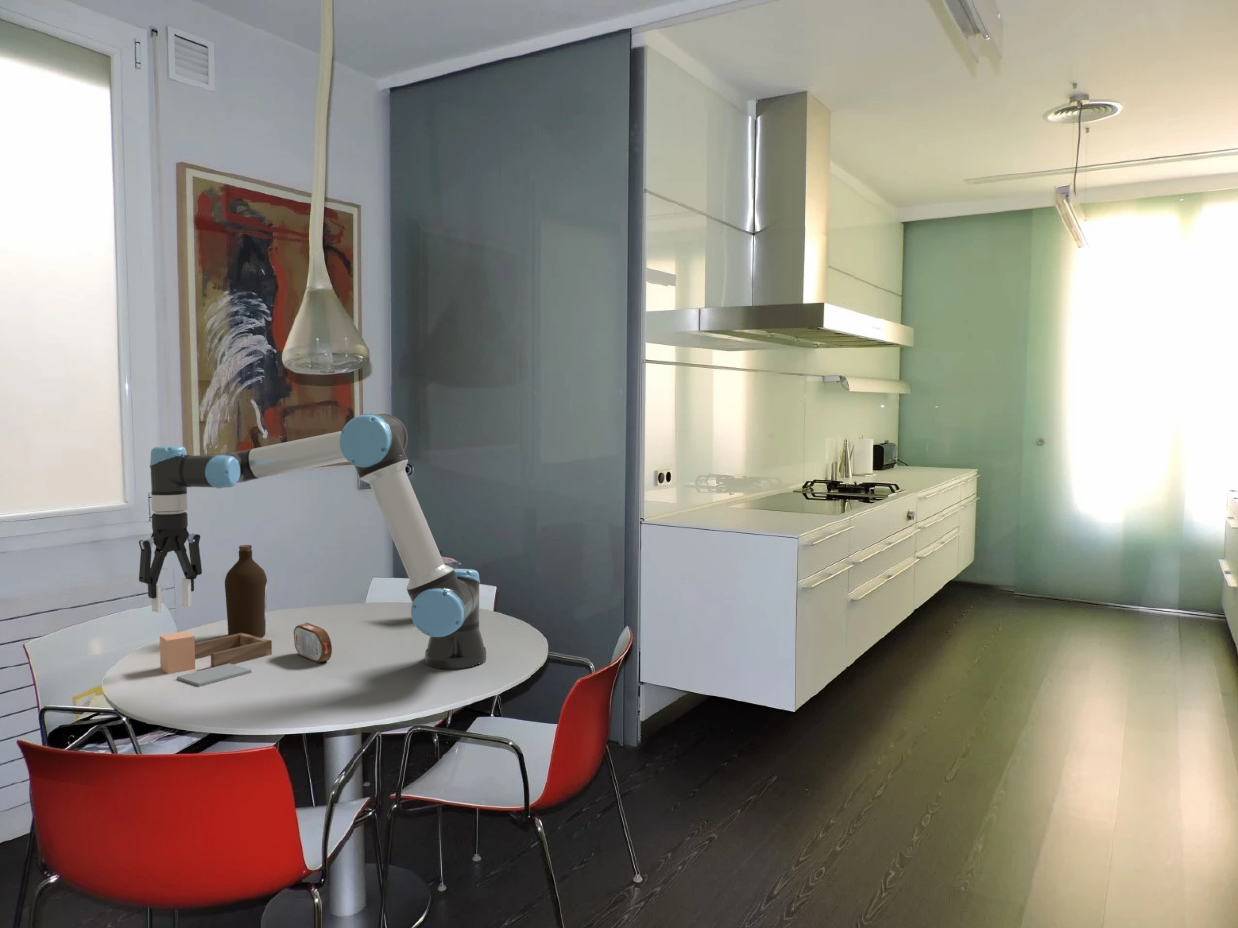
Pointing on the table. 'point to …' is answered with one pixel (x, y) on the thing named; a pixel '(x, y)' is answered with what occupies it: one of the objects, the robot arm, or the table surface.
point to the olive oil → (246, 596)
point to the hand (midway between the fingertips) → (171, 608)
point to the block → (177, 652)
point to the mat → (213, 674)
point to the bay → (233, 649)
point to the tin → (312, 642)
